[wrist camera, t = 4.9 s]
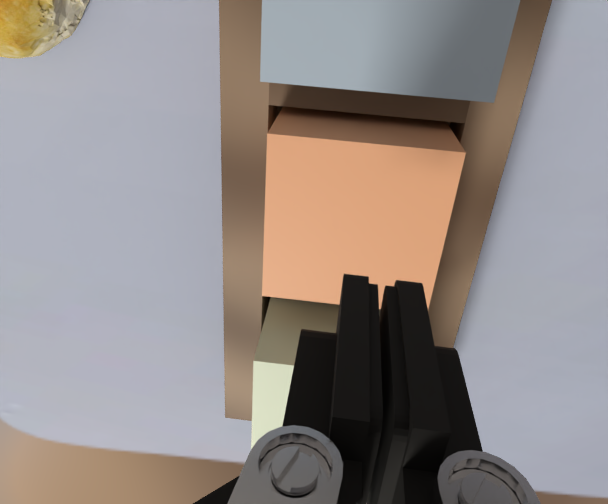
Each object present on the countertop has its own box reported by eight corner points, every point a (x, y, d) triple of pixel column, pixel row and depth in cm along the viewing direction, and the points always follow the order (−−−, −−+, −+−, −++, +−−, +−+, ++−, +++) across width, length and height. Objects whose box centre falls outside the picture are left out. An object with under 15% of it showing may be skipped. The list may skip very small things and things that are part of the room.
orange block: (414, 254, 19) (427, 314, 16) (279, 239, 19) (261, 295, 16) (442, 116, 17) (466, 153, 13) (285, 102, 17) (267, 133, 13)
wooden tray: (418, 392, 24) (425, 442, 21) (239, 371, 24) (225, 417, 22) (567, -192, 13) (618, -235, 11) (242, -212, 14) (215, -257, 11)
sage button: (388, 406, 21) (394, 488, 18) (267, 391, 22) (250, 469, 18) (410, 307, 19) (422, 380, 15) (272, 291, 19) (253, 360, 16)
